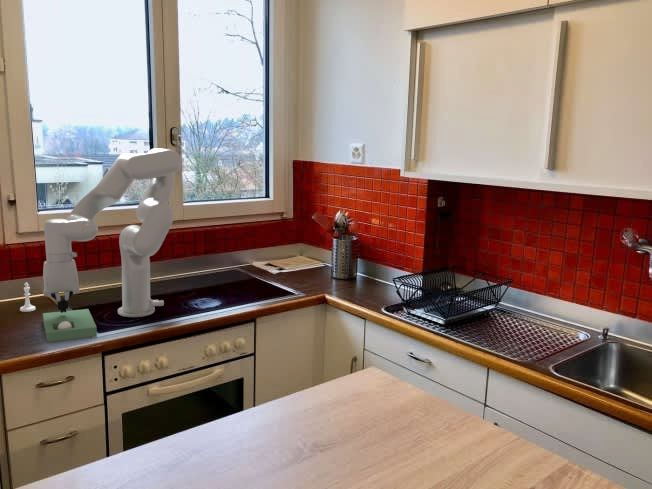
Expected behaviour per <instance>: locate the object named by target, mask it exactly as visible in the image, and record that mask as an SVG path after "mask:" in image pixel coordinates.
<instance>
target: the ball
mask: <svg viewBox="0 0 652 489" xmlns="http://www.w3.org/2000/svg"><path fill="white" fill-rule="evenodd" d="M66 328H72V325H71V324H70V323H69V322H67V321H64V322H61V323H60V324H59V325H58V329H66Z"/></svg>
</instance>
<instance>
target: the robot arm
mask: <svg viewBox="0 0 652 489" xmlns="http://www.w3.org/2000/svg"><path fill="white" fill-rule="evenodd" d="M182 162H183V161H182V158H181V155H180V154H179V153H178V152H177V151H175V150H173V149H169V148H168V149H167V148H160V147H159V148H157V147H155V148H151V149H149V150H148V152H147V153H129V152H126V153H122V154H120V155H119V156H118V157H117V158H116V160H115V161H114V162H113V164H112V165H111V166H110V167H109V168H108V170H107V172H106V173H105V174H104V175H103V177H102V178H101V179H100V181H99V182H98V183H97V184H96V185H95V187H94V188H93V189H91V190H90V191H89V192H87V194H85V196H83V197H82V198H81V199H80V200H79V201H78V202H77V204H76V205H75V206H73V208H72V210H71V211H70V213H69V214H68V215H67V216H66V218H51V219H47V220H45V221H44V224H43V230H44V244H45V256H46V260H45V261H43V268H42V269H43V270H42V272H43V273H42V279H43V283H42V284H43V296H44V297H49V298H53V299H54V300H56V302H57V303H56V304H57V310H58V311H59V312H61V313H63V311H64V312H66V311H67V310H69V299H70V298H71V297H72V296H73V295H75V294H79V293H80V292H81V290H80V285H79V275H78V268H77V264H76V261H75V259H74V258H76V257H78V253H77V252H74V251H73V250H72V242H74V241H75V242H88V241H92V240H93V239H95V237H97V234H98V233H99V228H98V225H97V223H96V222H95V221H94V219H95V218H96V216H97V215H98V214H100V212H102V211H103V210H104V209H106V208H108V207H111V206H113V205H116V204H117V203H118V202H119V201H120V200H121V199H122V198H123V196H124V195H125V193H126V192H127V190H128V189H129V188H130V187H131V185H132V184H133V183H134V181H144V180H149V184H148V186H147V189H146V191H145V192H144V194H143V197H142V198H141V200H140V202H139V204H138V206H137V208H136V210H135V214H136V216H135V217H136V218H137V220H138V221H139V222H141V223H142V224H141V225H138V224H130V225H128V226H125V227H124V228H123V229H122V230H121V232H120V234H119V238H118V239H119V240H118V243H119V250H120V256H121V257H120V258H121V298H122V299H121V300H122V303H121V304H122V305H121V307H119V308H117V314H118V315H120V316H122V317H127V318H142V317H146V316H150V315H152V314H154V313H155V311H156V309H155V307H162V306H165V305H164V304H165V302H164V300H163V299H161V300H159V299H152V298H151V259H150V257H151V256H154V255H155V254H156V253H157V252H158V251H159V250H160V248H161V246H162V245H163V243H164V241H165V239H166V236H167V235H168V233H169V231H170V229H171V226H172V225H173V222H174V217H175V213H174V210H173V207H172V206H171V205H170V203H169V202H170V200H171V197H172V195H173V192H174V190H175V184H176V183H175V181H176V180H175V174H176V173H178V171H180V170H181V167H182V164H183V163H182ZM60 293H63V297H61V295H60Z"/></svg>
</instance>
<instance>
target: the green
mask: <svg viewBox="0 0 652 489" xmlns="http://www.w3.org/2000/svg"><path fill="white" fill-rule="evenodd" d="M64 321H67V322H69V323H70V324H71V325H72V328H66V329H58V325H59V324H60V323H61V322H64ZM42 323H43V327H44V333H45V337H46V341H47V343H51V342H52V343H54V342H61V341H68V340H75V339H77V340H78V339H84V338H86V339H87V338H94V337H98V331H97V330H98V329H97V328H98V327H97V325H96V322H95V321H94V318H93V316H92V314H91V312H90V310H89V308H84V309H74V310H66V312H64V311H63V313H61V311H54V312H45V313H43V312H42Z"/></svg>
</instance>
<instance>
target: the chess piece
mask: <svg viewBox="0 0 652 489" xmlns="http://www.w3.org/2000/svg"><path fill="white" fill-rule="evenodd" d="M23 285H24V286H25V287H23V291H24V294H23V296H25V298H24V299H25V300H24V305H22V306H20V308H19V311H20V312H23V313H24V312H32V311H33V312H34V311H35V310H36V309H37V308H36V306H35V305H32V304H31V302H30V295H31V293H30V289H31V287H30V283H28V282H27V281H26V282H25V283H24V284H23Z"/></svg>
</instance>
